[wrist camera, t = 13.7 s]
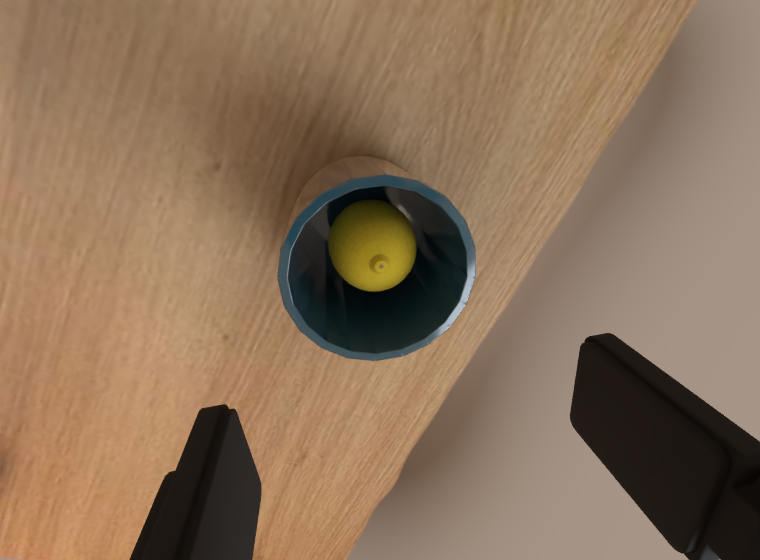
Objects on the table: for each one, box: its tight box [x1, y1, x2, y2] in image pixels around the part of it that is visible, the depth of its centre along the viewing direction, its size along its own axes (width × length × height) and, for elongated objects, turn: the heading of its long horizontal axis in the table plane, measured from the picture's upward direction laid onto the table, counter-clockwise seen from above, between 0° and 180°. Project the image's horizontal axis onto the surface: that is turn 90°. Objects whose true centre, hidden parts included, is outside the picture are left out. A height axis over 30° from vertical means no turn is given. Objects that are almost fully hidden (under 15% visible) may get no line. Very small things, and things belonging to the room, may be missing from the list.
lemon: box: [328, 199, 417, 291], centre depth 24 cm, size 6×6×8 cm
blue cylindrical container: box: [277, 156, 476, 361], centre depth 23 cm, size 10×10×10 cm
